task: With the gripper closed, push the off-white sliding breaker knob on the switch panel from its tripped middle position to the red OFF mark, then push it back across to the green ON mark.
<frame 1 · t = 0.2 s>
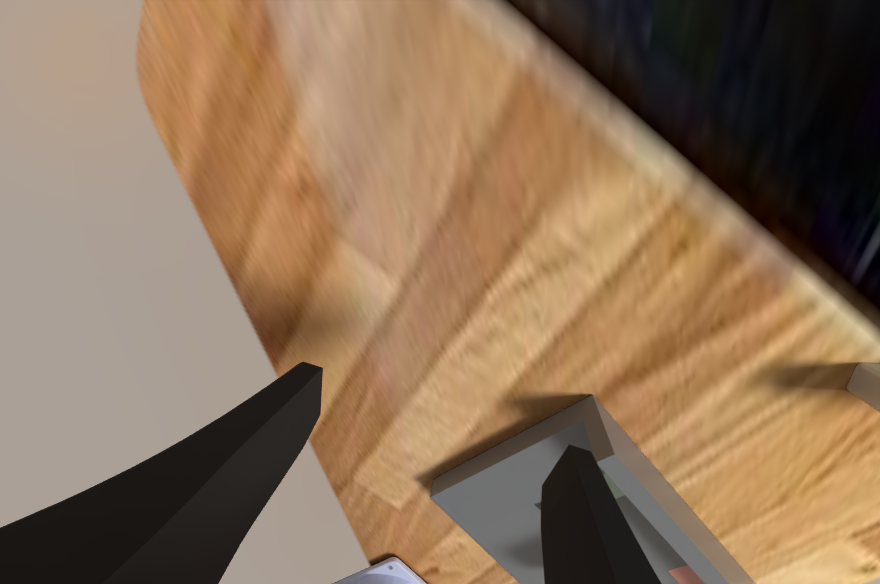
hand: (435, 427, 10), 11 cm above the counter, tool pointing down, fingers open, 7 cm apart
switch panel: (589, 529, 25), on the counter
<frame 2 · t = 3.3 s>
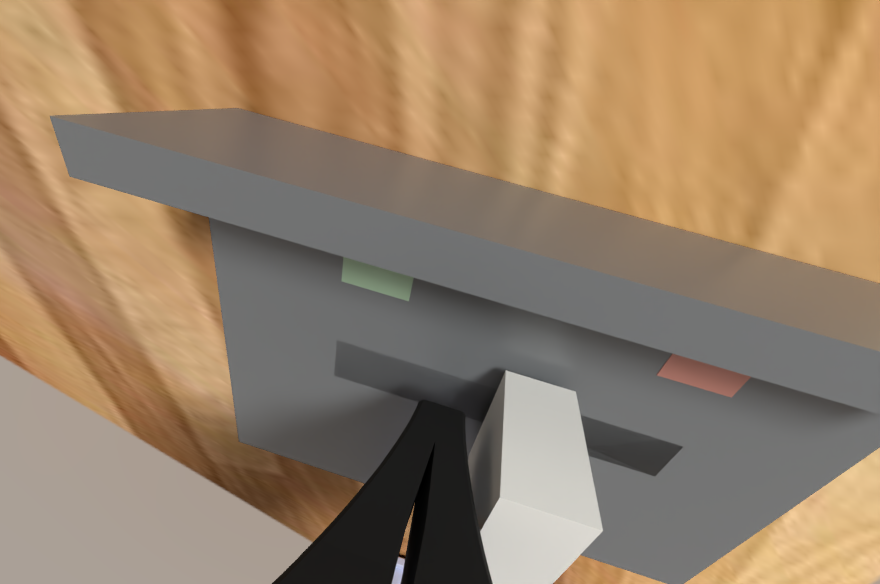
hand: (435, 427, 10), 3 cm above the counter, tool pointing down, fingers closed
breaker knob: (516, 481, 9), point 4 cm above the counter, slide at -0.7 cm, touching gripper
switch panel: (499, 376, 12), on the counter
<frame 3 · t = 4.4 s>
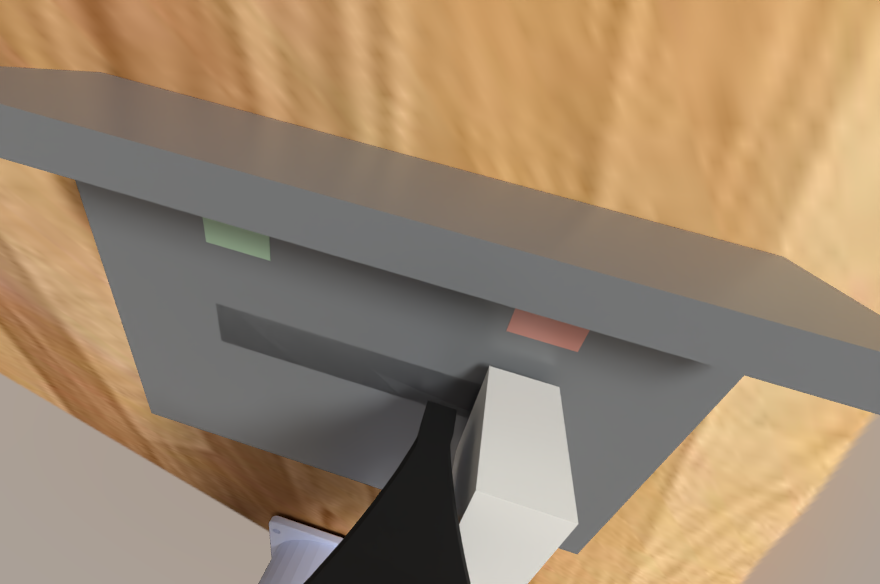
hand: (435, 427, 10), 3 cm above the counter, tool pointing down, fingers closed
breaker knob: (499, 477, 9), point 4 cm above the counter, slide at -4.3 cm, touching gripper
switch panel: (388, 343, 13), on the counter
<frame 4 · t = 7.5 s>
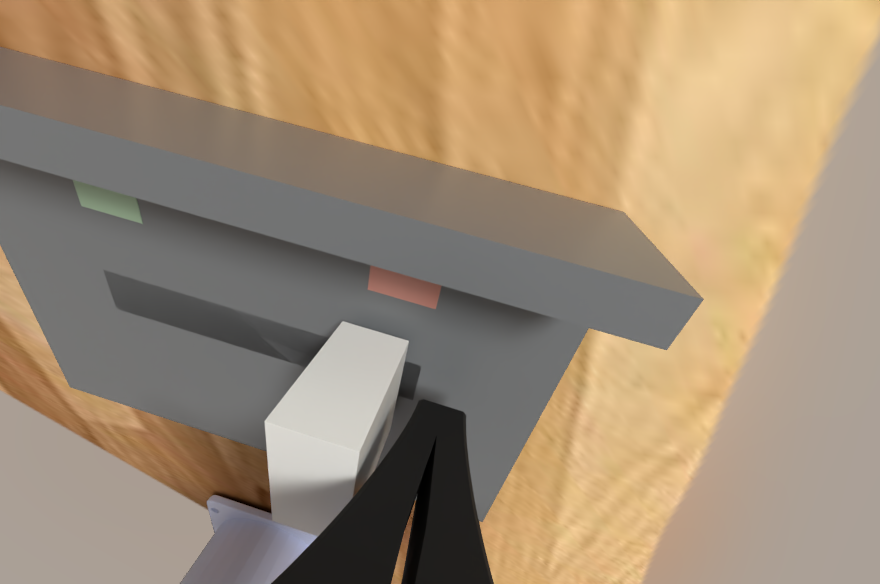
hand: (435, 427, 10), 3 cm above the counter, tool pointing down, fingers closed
breaker knob: (344, 426, 9), point 4 cm above the counter, slide at -4.0 cm, touching gripper
switch panel: (285, 311, 13), on the counter
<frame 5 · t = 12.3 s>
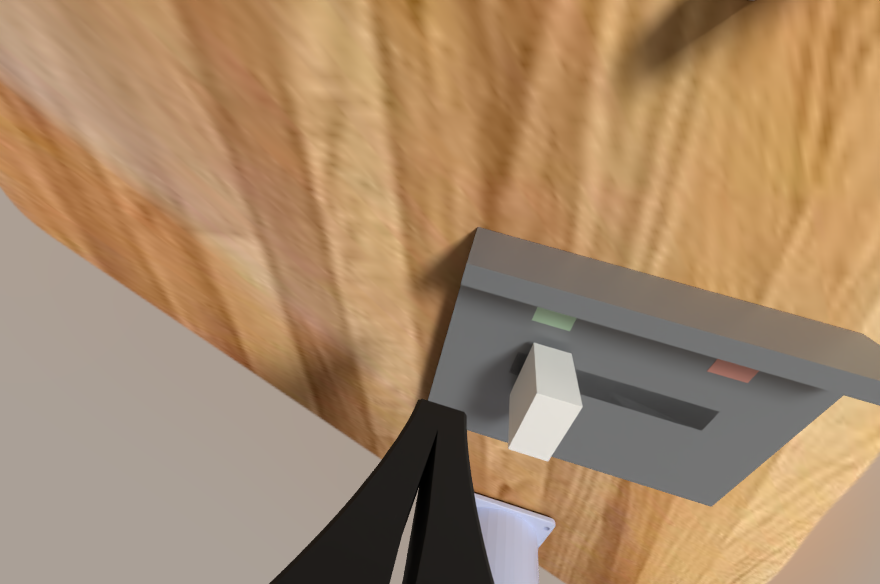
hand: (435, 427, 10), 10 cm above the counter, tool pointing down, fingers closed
breaker knob: (540, 400, 17), point 4 cm above the counter, slide at 4.1 cm
switch panel: (604, 372, 20), on the counter
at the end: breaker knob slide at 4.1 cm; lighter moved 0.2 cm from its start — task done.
